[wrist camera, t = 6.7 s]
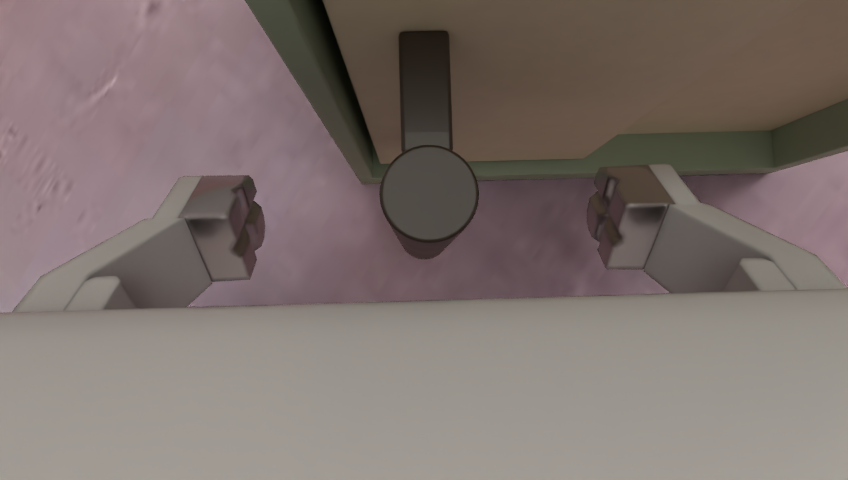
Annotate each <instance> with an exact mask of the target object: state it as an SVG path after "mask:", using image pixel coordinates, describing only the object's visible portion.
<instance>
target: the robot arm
mask: <svg viewBox="0 0 848 480" xmlns="http://www.w3.org/2000/svg"><path fill="white" fill-rule="evenodd" d="M594 184H595V186H596V188H597V190H598V191H597V192H596V193H595V194H594V195H593V196H592V197H591V198H590V199H589V203H588V208H587V224H588V229H589V232H590V234H591V237H593V238H594V239H596V240H597V241H599V246H598V249H597V250H598V252H599V254H600V257H601V259H602V261H603V263H604V265H605V268H606V270H625V269H644V272H645V273H646V274H648V275H649V276H650V277H651V278H653V279H654V280H655V281H656V282H658V283H659V284H660V285H661V286H663V287H664V288H665V289H666V290H668V291H669V292H670V293H667V294H632V295H598V296H564V297H529V298H495V299H460V300H425V301H390V302H356V303H321V304H286V305H251V306H216V307H187V306H188V305H189V304H190V303H192V302H193V301H194V300H195V299H196V298H197V297H198V296H199V295H200V294H201V293H202V292H203V291H205V290H206V289H207V288H208V287H209V286H210V285H211V284H212V282H215V281H233V280H250V278H251V275H252V272H253V269H254V266H255V264H256V261H257V258H256V254H255V251H256V250H257V249H258V248H260V247H261V246H262V243H263V240H264V234H265V221H264V215H263V211H262V207H261V206H259V205H258V204H257V203H256V202H255V201H254V197H255V195H256V192H257V190H256V187H255V184H254V181H253V179H252V178H251V177H250V176H249V175H238V176H183V177H180V178H178V180H177V181H176V183H175V184H174V186H173V187H172V189H171V190H170V192H169V193H168V195H167V197H166V198H165V200H164V201H163V203H162V204H161V206H160V207H159V209H158V210H157V212H156V213H155V215H154V216H153V218H152V219H144V220H142V221H140V222H138V223H137V224H135V225H133V226H131V227H129V228H127V229H126V230H124V231H122V232H120V233H118V234H117V235H115V236H113V237H111V238H109V239H108V240H106V241H104V242H102V243H100V244H99V245H97V246H95V247H93V248H91V249H90V250H88V251H86V252H84V253H82V254H80V255H79V256H77V257H75V258H73V259H71V260H70V261H68V262H66V263H64V264H62V265H61V266H59V267H57V268H55V269H53V270H52V271H50V272H48V273H46V274H44V275H43V276H41V277H40V278H39V279H38V280H37V282H36V283H35V284H34V285H33V287H32V288H31V289H30V290H29V291H28V293H27V294H26V295H25V296H24V298H23V299H22V300H21V301H20V303H19V304H18V305H17V306H16V307H15V309H14V310H13V311H12V312H8V313H0V480H848V288H847V287H846V286H845V285H844V284H843V283H842V282H841V281H840V280H839V279H838V278H837V277H836V276H835V275H834V274H833V272H832V271H831V270H830V269H829V268H828V267H827V266H826V265H825V264H824V263H823V262H822V261H821V260H820V259H819V258H818V257H817V256H816V255H815V254H812V253H810V252H808V251H806V250H804V249H802V248H800V247H798V246H796V245H794V244H791V243H789V242H787V241H785V240H783V239H781V238H779V237H777V236H775V235H773V234H770V233H768V232H766V231H764V230H762V229H760V228H758V227H756V226H754V225H752V224H749V223H747V222H745V221H743V220H741V219H739V218H737V217H735V216H733V215H731V214H728V213H726V212H724V211H722V210H720V209H718V208H716V207H714V206H712V205H710V204H701V203H700V202H699V201H698V199H697V198H696V197H695V196H694V194H693V193H692V192H691V191H690V189H689V188H688V187H687V185H686V184H685V183H684V182H683V180H682V179H681V178H680V176H679V175H678V174H677V173H676V171H675V170H674V169H673V167H672V166H671V165H669V164H666V163H663V164H647V165H632V166H612V167H600V168H599V169H598V171H597V173H596V176H595V180H594Z"/></svg>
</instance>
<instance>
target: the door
mask: <svg viewBox="0 0 848 480" xmlns="http://www.w3.org/2000/svg"><path fill="white" fill-rule="evenodd" d="M805 1H807V0H323V3H324V6H325V9H326V11H327V14H328V17H329V20H330V23H331V26H332V28H333V31H334V34H335V37H336V40H337V43H338V45H339V48H340V51H341V54H342V57H343V60H344V62H345V65H346V68H347V71H348V74H349V77H350V79H351V82H352V85H353V88H354V91H355V94H356V96H357V99H358V102H359V105H360V108H361V111H362V113H363V116H364V119H365V122H366V125H367V128H368V131H369V133H370V136H371V139H372V142H373V145H374V148H375V150H376V153H377V156H378V159H379V162H380V164H390V165H389V166H388V168H387V169H386V171H385V173H384V175H383V178H382V181H381V185H380V203H381V207H382V210H383V213H384V215H385V217H386V219H387V221H388V222H389V224H390V226H391V228H392V229H393V231H394V233H395V234H396V236H397V238H398V239H399V241H400V243H401V245H402V246H403V248H404V249H405V251H406V252H407V253H409V254H410V255H411V256H413V257H415V258H418V259H430V258H434V257H436V256H438V255H439V254H440V253H441V252H442V251H443V250H444V249H445V248H446V247H447V246H448V245H449V244H450V243H451V242H452V241H453V240H454V239H455V238H456V237H457V236H458V235H459V234H460V233H461V232H462V231H463V230H464V229H465V228H466V227H467V225H468V224H469V223H470V222H471V220H472V218H473V217H474V214H475V212H476V209H477V206H478V200H479V188H478V183H477V179H476V176H475V174H474V172H473V170H472V168H471V167H470V165H469V164H468V163H467V162H471V161H510V160H550V159H584V158H585V157H587V156H588V155H589V154H591V153H592V152H594V151H595V150H596V149H598V148H599V147H601V146H602V145H604V144H605V143H606V142H608V141H609V140H611V139H612V138H613V137H615V136H616V135H618V134H619V133H620V132H622V131H623V130H625V129H626V128H628V127H629V126H630V125H632V124H633V123H635V122H636V121H637V120H639V119H640V118H642V117H643V116H644V115H646V114H647V113H649V112H650V111H652V110H653V109H654V108H656V107H657V106H659V105H660V104H661V103H663V102H664V101H666V100H667V99H668V98H670V97H671V96H673V95H674V94H676V93H677V92H678V91H680V90H681V89H683V88H684V87H685V86H687V85H688V84H690V83H691V82H692V81H694V80H695V79H697V78H698V77H699V76H701V75H702V74H704V73H705V72H707V71H708V70H709V69H711V68H712V67H714V66H715V65H716V64H718V63H719V62H721V61H722V60H723V59H725V58H726V57H728V56H729V55H731V54H732V53H733V52H735V51H736V50H738V49H739V48H740V47H742V46H743V45H745V44H746V43H747V42H749V41H750V40H752V39H753V38H755V37H756V36H757V35H759V34H760V33H762V32H763V31H764V30H766V29H767V28H769V27H770V26H771V25H773V24H774V23H776V22H777V21H779V20H780V19H781V18H783V17H784V16H786V15H787V14H788V13H790V12H791V11H793V10H794V9H795V8H797V7H798V6H800V5H801V4H802V3H804V2H805Z"/></svg>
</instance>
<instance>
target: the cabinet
mask: <svg viewBox="0 0 848 480" xmlns="http://www.w3.org/2000/svg"><path fill="white" fill-rule="evenodd" d="M245 1H246V3H247V4H248V6H249V8H250V9H251V11H252V12H253V14H254V15H255V17H256V19H257V20H258V22H259V23H260V25H261V26H262V28H263V30H264V31H265V33H266V34H267V36H268V37H269V39H270V41H271V42H272V44H273V45H274V47H275V48H276V50H277V52H278V53H279V55H280V56H281V58H282V59H283V61H284V63H285V64H286V66H287V67H288V69H289V71H290V72H291V74H292V75H293V77H294V78H295V80H296V82H297V83H298V85H299V86H300V88H301V89H302V91H303V93H304V94H305V96H306V97H307V99H308V100H309V102H310V104H311V105H312V107H313V108H314V110H315V111H316V113H317V115H318V116H319V118H320V119H321V121H322V122H323V124H324V126H325V127H326V129H327V130H328V132H329V133H330V135H331V137H332V138H333V140H334V141H335V143H336V144H337V146H338V148H339V149H340V151H341V152H342V154H343V155H344V157H345V159H346V160H347V162H348V163H349V165H350V167H351V168H352V170H353V171H354V173H355V174H356V176H357V178H358V179H359V181H360V182H361V183H362V184H366V183H381V181H382V178H383V175H384V173H385V171H386V169H387V168H388V166H389V165H390V164H380V162H379V159H378V156H377V153H376V150H375V148H374V145H373V142H372V139H371V136H370V133H369V131H368V128H367V125H366V122H365V119H364V116H363V113H362V111H361V108H360V105H359V102H358V99H357V96H356V94H355V91H354V88H353V85H352V82H351V79H350V77H349V74H348V71H347V68H346V65H345V62H344V60H343V57H342V54H341V51H340V48H339V45H338V43H337V40H336V37H335V34H334V31H333V28H332V26H331V23H330V20H329V17H328V14H327V11H326V9H325V6H324V3H323V0H245ZM844 151H848V0H807V1H805V2H804V3H802V4H801V5H800V6H798V7H797V8H795V9H794V10H793V11H791V12H790V13H788V14H787V15H786V16H784V17H783V18H781V19H780V20H779V21H777V22H776V23H774V24H773V25H771V26H770V27H769V28H767V29H766V30H764V31H763V32H762V33H760V34H759V35H757V36H756V37H755V38H753V39H752V40H750V41H749V42H747V43H746V44H745V45H743V46H742V47H740V48H739V49H738V50H736V51H735V52H733V53H732V54H731V55H729V56H728V57H726V58H725V59H723V60H722V61H721V62H719V63H718V64H716V65H715V66H714V67H712V68H711V69H709V70H708V71H707V72H705V73H704V74H702V75H701V76H699V77H698V78H697V79H695V80H694V81H692V82H691V83H690V84H688V85H687V86H685V87H684V88H683V89H681V90H680V91H678V92H677V93H676V94H674V95H673V96H671V97H670V98H668V99H667V100H666V101H664V102H663V103H661V104H660V105H659V106H657V107H656V108H654V109H653V110H652V111H650V112H649V113H647V114H646V115H644V116H643V117H642V118H640V119H639V120H637V121H636V122H635V123H633V124H632V125H630V126H629V127H628V128H626V129H625V130H623V131H622V132H620V133H619V134H618V135H616V136H615V137H613V138H612V139H611V140H609V141H608V142H606V143H605V144H604V145H602V146H601V147H599V148H598V149H596V150H595V151H594V152H592V153H591V154H589V155H588V156H587V157H585V158H584V159H550V160H510V161H471V162H467V163H468V164H469V165H470V167H471V168H472V170H473V172H474V174H475V176H476V179H477V181H482V180H520V179H559V178H595V176H596V173H597V171H598V169H599V168H600V167H612V166H632V165H647V164H663V163H666V164H669V165H671V166H672V167H673V169H674V170H675V171H676V173H677V174H678V175H713V174H752V173H772V172H776V171H779V170H782V169H786V168H789V167H793V166H796V165H800V164H803V163H807V162H810V161H813V160H817V159H820V158H824V157H827V156H831V155H834V154H838V153H841V152H844Z"/></svg>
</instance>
